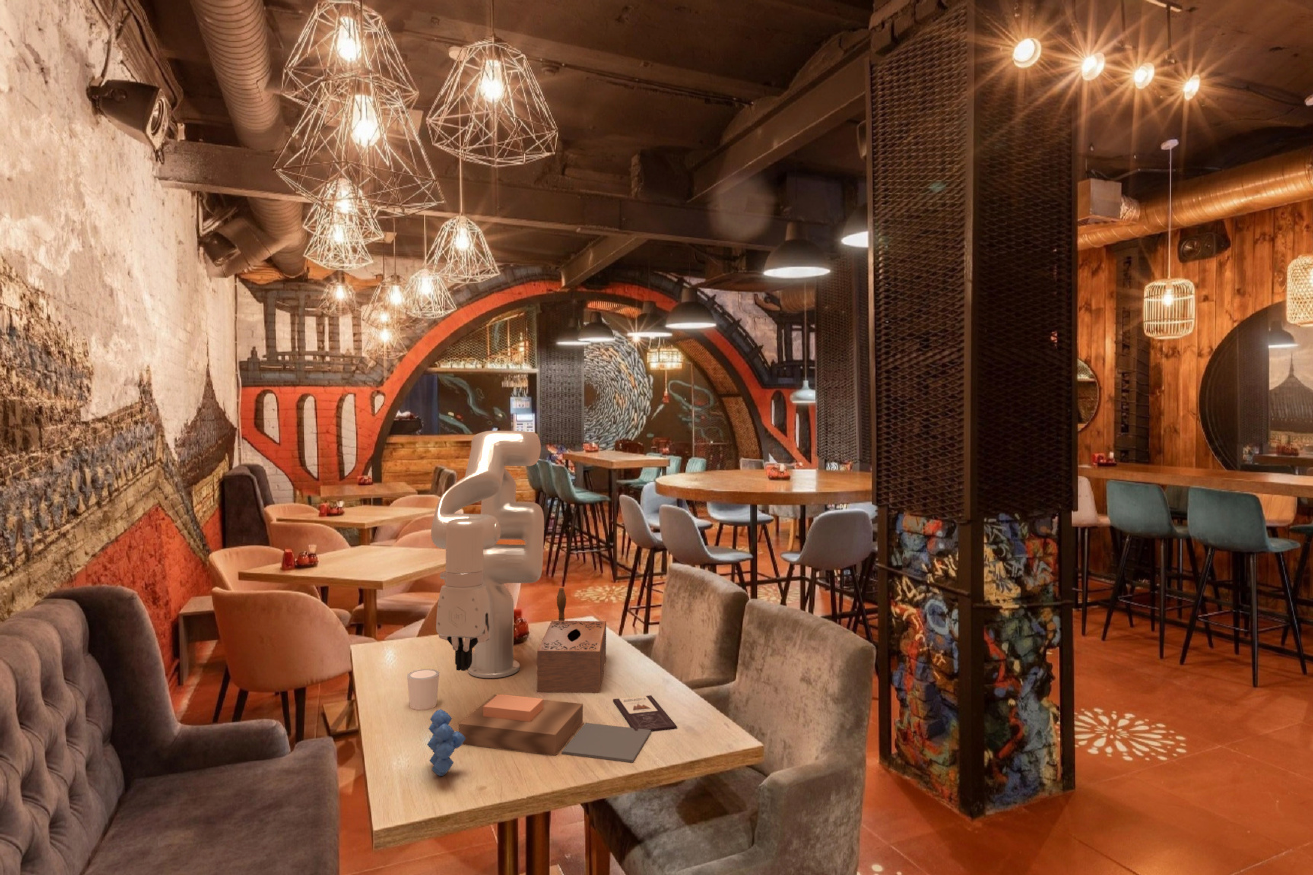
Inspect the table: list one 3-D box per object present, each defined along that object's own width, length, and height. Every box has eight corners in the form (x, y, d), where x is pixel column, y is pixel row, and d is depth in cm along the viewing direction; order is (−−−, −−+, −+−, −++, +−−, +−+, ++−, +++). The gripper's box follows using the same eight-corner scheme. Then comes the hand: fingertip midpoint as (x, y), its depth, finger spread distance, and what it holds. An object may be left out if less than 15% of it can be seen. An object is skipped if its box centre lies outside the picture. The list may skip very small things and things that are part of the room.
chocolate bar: (635, 730, 156) (613, 699, 174) (635, 735, 156) (612, 703, 174) (677, 726, 159) (651, 695, 176) (676, 730, 159) (651, 699, 176)
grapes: (471, 785, 134) (472, 717, 134) (431, 792, 131) (431, 723, 131) (460, 757, 145) (460, 694, 144) (422, 763, 142) (422, 699, 142)
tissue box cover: (551, 658, 204) (551, 620, 204) (605, 658, 204) (606, 621, 204) (536, 693, 179) (537, 650, 178) (599, 694, 179) (599, 651, 178)
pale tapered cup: (445, 701, 172) (445, 670, 172) (427, 712, 166) (427, 680, 166) (419, 697, 174) (419, 667, 174) (400, 708, 168) (400, 676, 168)
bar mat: (561, 753, 147) (561, 751, 147) (585, 725, 160) (585, 722, 160) (632, 762, 143) (632, 759, 143) (651, 732, 157) (651, 729, 157)
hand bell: (542, 649, 211) (543, 591, 211) (551, 640, 219) (552, 584, 219) (572, 651, 210) (572, 592, 209) (580, 642, 218) (580, 586, 217)
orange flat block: (483, 716, 154) (483, 706, 154) (498, 703, 161) (498, 694, 161) (529, 721, 152) (530, 711, 152) (543, 708, 159) (543, 698, 159)
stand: (458, 743, 151) (458, 723, 150) (494, 712, 166) (494, 694, 166) (555, 755, 146) (555, 734, 146) (582, 722, 161) (582, 703, 161)
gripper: (421, 580, 156) (420, 671, 156) (489, 584, 152) (489, 677, 153) (440, 574, 163) (439, 660, 163) (506, 578, 160) (505, 666, 160)
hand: (463, 668), depth 158 cm, fingers closed
